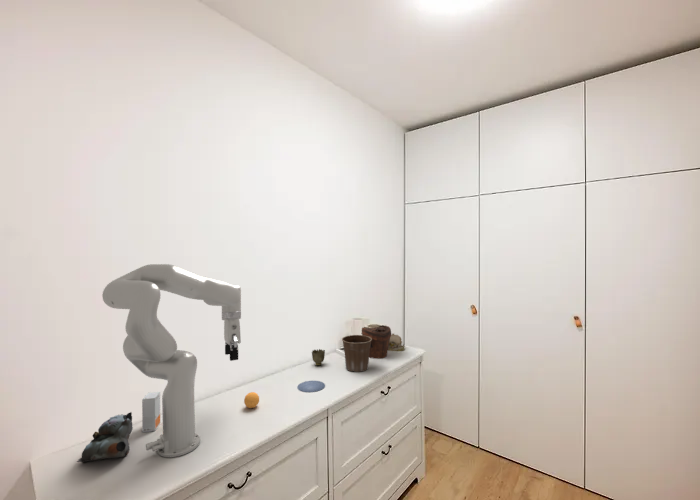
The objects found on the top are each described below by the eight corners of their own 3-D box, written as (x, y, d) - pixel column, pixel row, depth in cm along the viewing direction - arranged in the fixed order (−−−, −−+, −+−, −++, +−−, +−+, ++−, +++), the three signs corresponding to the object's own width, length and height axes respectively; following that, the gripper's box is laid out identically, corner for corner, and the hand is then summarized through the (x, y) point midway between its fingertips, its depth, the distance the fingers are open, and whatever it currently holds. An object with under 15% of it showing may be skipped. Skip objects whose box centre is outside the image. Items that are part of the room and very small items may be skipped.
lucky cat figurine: (70, 463, 103) (86, 412, 109) (113, 460, 111) (125, 413, 118) (90, 463, 95) (107, 410, 102) (134, 460, 104) (147, 411, 111)
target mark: (307, 394, 148) (307, 394, 148) (292, 386, 158) (292, 385, 158) (330, 386, 157) (330, 386, 157) (314, 378, 167) (314, 378, 167)
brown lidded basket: (396, 351, 208) (395, 323, 208) (386, 362, 190) (385, 330, 190) (369, 349, 215) (368, 321, 215) (357, 358, 197) (356, 328, 197)
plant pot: (378, 369, 178) (377, 339, 178) (353, 376, 169) (353, 344, 169) (360, 361, 192) (360, 333, 192) (336, 367, 183) (336, 337, 183)
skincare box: (155, 431, 120) (154, 398, 120) (142, 432, 119) (141, 399, 119) (161, 422, 126) (160, 391, 126) (148, 424, 125) (148, 392, 125)
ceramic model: (381, 350, 212) (380, 334, 212) (384, 345, 223) (384, 330, 223) (403, 352, 208) (403, 336, 208) (405, 347, 218) (405, 332, 218)
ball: (248, 412, 133) (247, 397, 133) (241, 407, 138) (241, 392, 138) (261, 407, 137) (261, 392, 137) (255, 402, 142) (255, 388, 142)
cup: (323, 367, 182) (322, 353, 182) (310, 367, 184) (309, 352, 184) (326, 363, 190) (326, 349, 190) (314, 362, 191) (314, 348, 191)
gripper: (245, 317, 132) (245, 361, 132) (236, 311, 147) (236, 350, 147) (225, 319, 128) (226, 364, 128) (218, 313, 143) (218, 353, 143)
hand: (231, 356), depth 137 cm, fingers open, 9 cm apart
